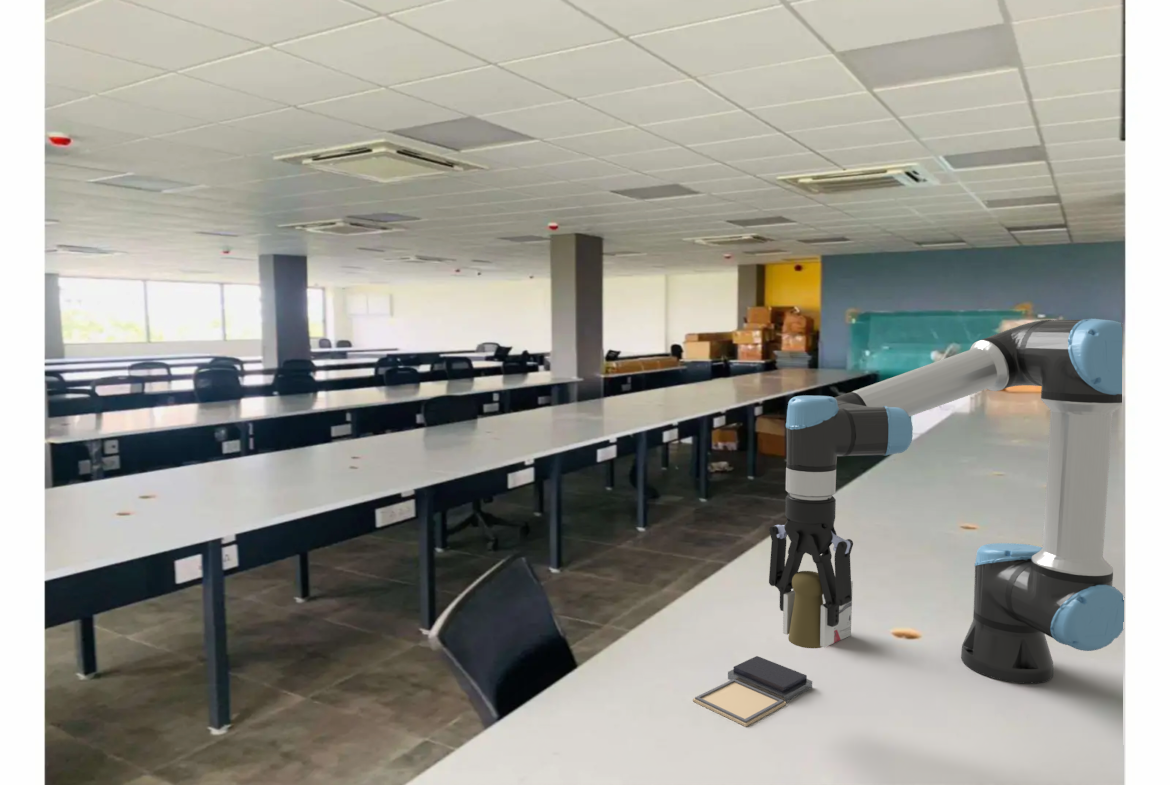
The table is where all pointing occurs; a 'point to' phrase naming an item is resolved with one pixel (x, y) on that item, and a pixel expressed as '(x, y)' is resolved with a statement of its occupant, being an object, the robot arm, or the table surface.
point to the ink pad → (771, 678)
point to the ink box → (843, 620)
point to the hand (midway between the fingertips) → (808, 637)
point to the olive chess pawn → (806, 610)
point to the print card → (739, 702)
